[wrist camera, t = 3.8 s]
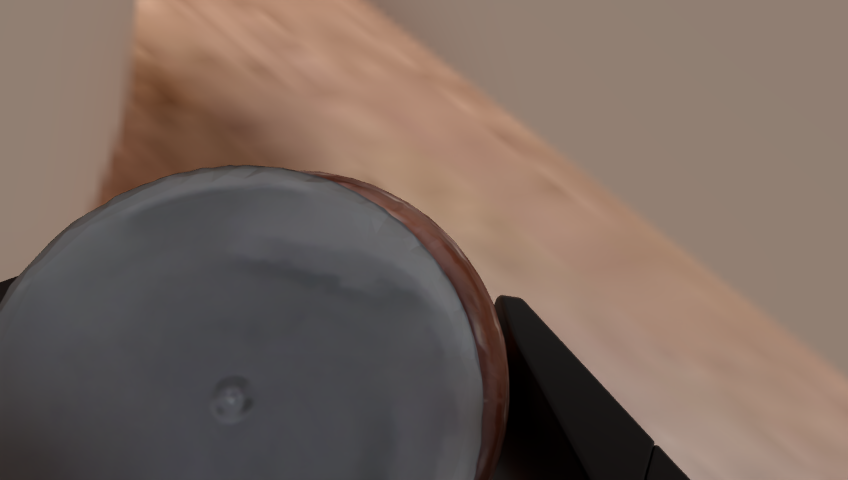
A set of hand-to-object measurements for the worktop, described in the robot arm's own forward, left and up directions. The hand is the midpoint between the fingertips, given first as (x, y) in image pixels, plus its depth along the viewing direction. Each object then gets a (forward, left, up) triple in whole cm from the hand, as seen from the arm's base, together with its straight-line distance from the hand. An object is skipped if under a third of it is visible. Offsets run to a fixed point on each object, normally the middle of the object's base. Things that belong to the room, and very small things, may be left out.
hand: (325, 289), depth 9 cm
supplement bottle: (-1, -1, -7) cm, 7 cm away
